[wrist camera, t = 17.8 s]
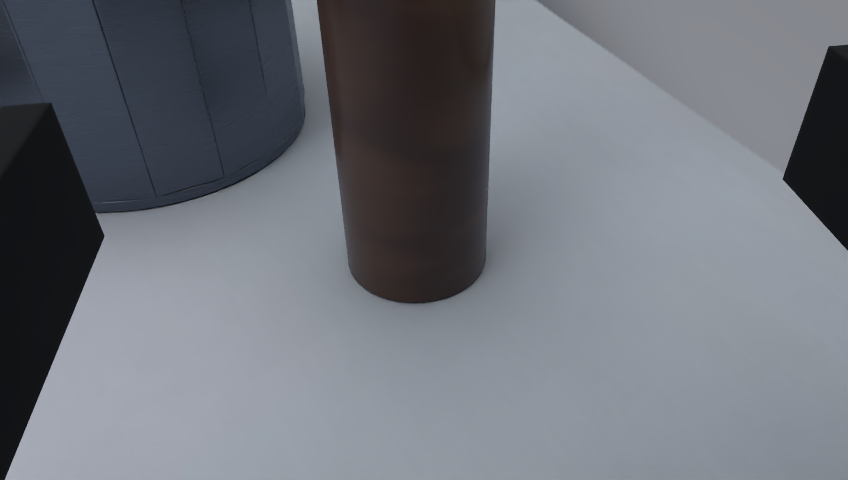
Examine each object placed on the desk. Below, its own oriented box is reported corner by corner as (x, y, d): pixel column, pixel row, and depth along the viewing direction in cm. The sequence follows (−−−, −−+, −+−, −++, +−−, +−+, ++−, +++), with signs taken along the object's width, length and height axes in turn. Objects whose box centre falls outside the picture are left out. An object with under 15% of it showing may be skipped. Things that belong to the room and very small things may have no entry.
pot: (308, 55, 38) (281, -141, 32) (300, 197, 28) (259, -55, 22) (50, 72, 37) (-25, -126, 31) (-59, 226, 27) (-205, -28, 21)
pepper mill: (473, 210, 27) (483, -228, 18) (497, 296, 23) (524, -205, 14) (346, 220, 26) (295, -221, 18) (350, 309, 23) (286, -195, 14)
